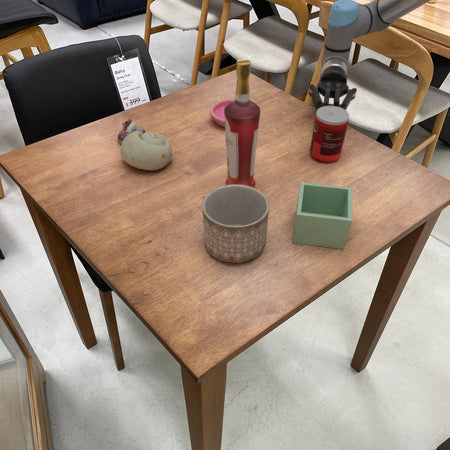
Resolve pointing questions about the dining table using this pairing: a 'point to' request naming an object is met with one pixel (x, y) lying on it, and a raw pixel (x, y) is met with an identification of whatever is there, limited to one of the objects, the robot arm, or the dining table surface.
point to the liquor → (241, 130)
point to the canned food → (328, 134)
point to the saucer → (219, 111)
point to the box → (323, 215)
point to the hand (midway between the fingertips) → (329, 121)
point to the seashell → (146, 150)
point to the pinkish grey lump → (128, 130)
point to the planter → (235, 222)
